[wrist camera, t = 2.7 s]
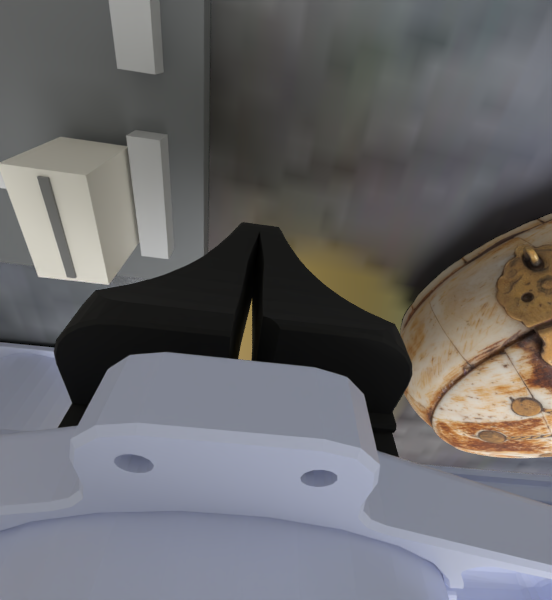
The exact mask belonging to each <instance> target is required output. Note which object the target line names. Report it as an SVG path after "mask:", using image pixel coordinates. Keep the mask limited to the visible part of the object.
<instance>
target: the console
mask: <svg viewBox="0 0 552 600" xmlns="http://www.w3.org/2000/svg"><path fill="white" fill-rule="evenodd" d="M210 20H211V0H0V162H2V161H4V160H6V159H9V158H11V157H14V156H16V155H18V154H21V153H23V152H25V151H28V150H30V149H32V148H35V147H37V146H40V145H42V144H44V143H47V142H49V141H51V140H54V139H56V138H58V137H66V138H73V139H80V140H87V141H94V142H101V143H108V144H115V145H122V146H127V147H128V155H129V163H130V170H131V178H132V186H133V194H134V201H135V209H136V217H137V225H138V232H139V240H140V242H139V243H138V245H137V246H136V248H135V249H134V250H133V252H132V253H131V255H130V256H129V257H128V259H127V260H126V262H125V263H124V264H123V266H122V267H121V269H120V270H119V271H118V273H117V274H116V276H123V277H132V278H141V279H152V278H155V277H158V276H162V275H164V274H167V273H169V272H172V271H174V270H177V269H179V268H181V267H184V266H186V265H188V264H190V263H192V262H194V261H196V260H198V259H199V258H201V257H203V256H204V255H206V254H207V253H208V203H209V111H210ZM0 262H2V263H10V264H19V265H28V266H34V263H33V260H32V258H31V255H30V252H29V249H28V247H27V244H26V241H25V238H24V236H23V233H22V230H21V227H20V225H19V222H18V219H17V216H16V213H15V211H14V208H13V205H12V202H11V200H10V197H9V194H8V191H7V189H6V186H5V183H4V180H3V178H2V175H1V172H0Z"/></svg>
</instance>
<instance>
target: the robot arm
mask: <svg viewBox="0 0 552 600" xmlns="http://www.w3.org/2000/svg"><path fill="white" fill-rule="evenodd" d="M251 300H252V361H250V360H240V359H238V356H239V351H240V345H241V341H242V337H243V333H244V329H245V325H246V320H247V317H248V313H249V309H250V305H251ZM411 377H412V362H411V359H410V357H409V354H408V352H407V349H406V347H405V344H404V342H403V339H402V337H401V335H400V333H399V331H398V330H397V328H396V326H395V324H393V323H391V322H389V321H386V320H384V319H382V318H380V317H377V316H375V315H373V314H371V313H369V312H367V311H364V310H363V309H361V308H359V307H357V306H356V305H354V304H352V303H350V302H349V301H347V300H345V299H344V298H342V297H341V296H339V295H338V294H336V293H335V292H334V291H332V290H331V289H330V288H328V287H327V286H326V285H324V284H323V283H322V282H321V281H320V280H318V279H317V278H316V277H315V276H314V275H313V274H312V273H311V272H310V271H309V270H308V269H307V268H306V267H305V266H304V264H303V263H302V262H301V261H300V260H299V258H298V257H297V256H296V254H295V253H294V251H293V250H292V249H291V247H290V245H289V244H288V242H287V241H286V239H285V237H284V235H283V233H282V231H281V230H280V228H279V227H274V226H267V225H259V224H252V223H244V222H243V223H241V224H240V225H239V226H238V227H237V228H236V229H235V230H234V231H233V232H232V233H231V234H230V235H229V236H228V237H227V238H226V239H225V240H224V241H222V242H221V243H220V244H219V245H218V246H217V247H215V248H214V249H212V250H211V251H210V252H208V253H207V254H206V255H204V256H203V257H201V258H199V259H198V260H196V261H194V262H192V263H190V264H188V265H186V266H184V267H181V268H179V269H177V270H174V271H172V272H169V273H167V274H164V275H162V276H158V277H155V278H152V279H149V280H145V281H141V282H138V283H133V284H129V285H124V286H118V287H113V288H107V289H102V290H95V292H94V293H93V294H92V295H91V296H90V297H89V298H88V299H87V300H86V302H85V303H84V304H83V305H82V306H81V308H80V309H79V310H78V312H77V313H76V314H75V316H74V317H73V318H72V320H71V321H70V322H69V324H68V325H67V326H66V328H65V329H64V330H63V332H62V333H61V334H60V336H59V337H58V338H57V340H56V344H55V348H54V347H44V346H34V345H23V344H13V343H3V342H0V600H552V475H541V474H530V473H518V472H506V471H494V470H482V469H470V468H458V467H447V466H435V465H423V464H418V463H415V462H412V461H409V460H405V459H402V458H399V456H398V452H397V449H396V445H395V441H394V438H393V434H392V433H394V432H395V430H396V422H395V419H394V416H393V410H394V408H395V407H396V405H397V403H398V402H399V400H400V398H401V397H402V395H403V394H404V392H405V390H406V389H407V387H408V385H409V382H410V380H411Z"/></svg>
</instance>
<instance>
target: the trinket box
mask: <svg viewBox="0 0 552 600" xmlns="http://www.w3.org/2000/svg"><path fill="white" fill-rule="evenodd" d="M400 335H401V337H402V339H403V342H404V344H405V347H406V349H407V352H408V354H409V357H410V359H411V362H412V377H411V380H410V382H409V385H408V387H407V389H406V390H405V392H404V394H405V396H406V398H407V399H408V401H409V403H410V404H411V406H412V407H413V409H414V410H415V411H416V412H417V414H418V415H419V416H420V417H421V418H422V419H423V420H424V421H425V422H426V423H427V424H429V425H430V426H431V427H432V428H433V430H434V431H435V433H436V434H437V435H438V436H439V437H440V438H442V439H443V440H444V441H445V442H447V443H449V444H450V445H452V446H454V447H455V448H457V449H459V450H462V451H466V452H469V453H474V454H479V455H485V456H493V457H504V458H536V457H551V456H552V213H551V214H548V215H546V216H543V217H541V218H539V219H537V220H534V221H530V222H528V223H526V224H523V225H522V226H520V227H517V228H516V229H513V230H511V231H509V232H507V233H505V234H503V235H500V236H498V237H496V238H495V239H493V240H491V241H489V242H487V243H486V244H484V245H483V246H481V247H479V248H477V249H476V250H474V251H473V252H471V253H469V254H467V255H465V256H464V257H463V258H461V259H460V260H459V261H457V262H455V263H453V264H452V265H451V266H449V267H448V268H447V269H446V270H444V271H443V272H442V273H441V274H440V275H438V276H437V277H436V278H435V279H434V280H433V281H432V282H431V283H430V284H429V285H428V286H427V287H426V288H425V289H423V291H422V292H421V293H420V294H419V295H418V296H417V298H416V300H415V301H414V303H413V304H412V305H411V306H410V308H409V309H407V311H406V312H405V314H404V316H403V319H402V323H401V328H400Z"/></svg>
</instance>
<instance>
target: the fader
mask: <svg viewBox="0 0 552 600" xmlns="http://www.w3.org/2000/svg"><path fill="white" fill-rule="evenodd" d="M0 172H1V175H2V178H3V180H4V183H5V186H6V189H7V191H8V194H9V197H10V200H11V202H12V205H13V208H14V211H15V213H16V216H17V219H18V222H19V225H20V227H21V230H22V233H23V236H24V238H25V241H26V244H27V247H28V249H29V252H30V255H31V258H32V260H33V263H34V266H35V269H36V271H37V274H38V277H45V278H53V279H62V280H71V281H80V282H89V283H98V284H106V285H109V284H110V283H111V281H112V280H113V278H114V277H115V276H116V274H117V273H118V271H119V270H120V269H121V267H122V266H123V264H124V263H125V262H126V260H127V259H128V257H129V256H130V255H131V253H132V252H133V250H134V249H135V248H136V246H137V245H138V243H139V242H140V240H139V232H138V225H137V217H136V209H135V201H134V194H133V186H132V178H131V170H130V163H129V155H128V147H127V146H122V145H115V144H108V143H101V142H94V141H87V140H80V139H73V138H66V137H58V138H56V139H54V140H51V141H49V142H47V143H44V144H42V145H40V146H37V147H35V148H32V149H30V150H28V151H25V152H23V153H21V154H18V155H16V156H14V157H11V158H9V159H6V160H4V161H2V162H0Z"/></svg>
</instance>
